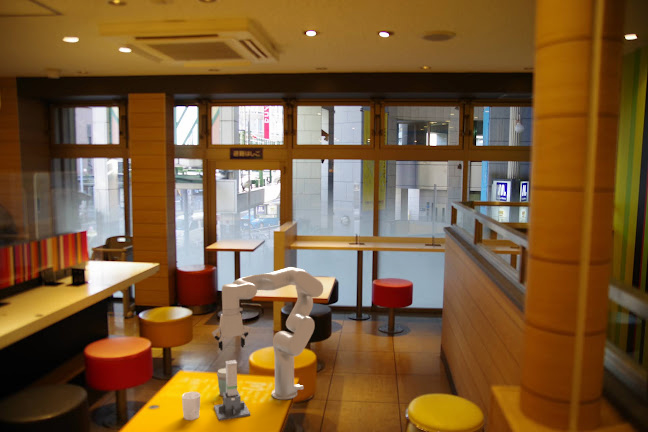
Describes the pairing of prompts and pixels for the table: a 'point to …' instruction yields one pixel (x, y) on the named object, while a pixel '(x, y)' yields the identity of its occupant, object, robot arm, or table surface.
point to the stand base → (231, 408)
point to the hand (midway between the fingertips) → (231, 348)
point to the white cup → (191, 405)
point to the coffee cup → (222, 380)
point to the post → (231, 378)
